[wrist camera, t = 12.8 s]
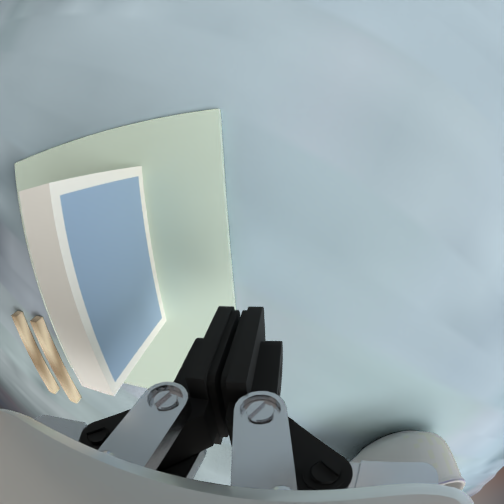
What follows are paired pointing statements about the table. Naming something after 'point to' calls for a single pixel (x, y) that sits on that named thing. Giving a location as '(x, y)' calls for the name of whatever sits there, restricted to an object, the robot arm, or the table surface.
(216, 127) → the mat
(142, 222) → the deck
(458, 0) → the table surface
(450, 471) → the teacup
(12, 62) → the table surface
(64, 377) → the holder
